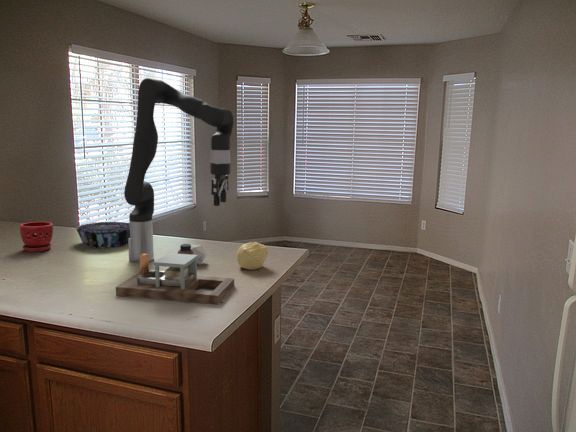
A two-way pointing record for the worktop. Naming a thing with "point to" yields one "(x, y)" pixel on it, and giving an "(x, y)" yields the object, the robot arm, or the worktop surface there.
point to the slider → (147, 273)
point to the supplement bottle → (185, 249)
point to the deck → (180, 290)
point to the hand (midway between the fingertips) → (220, 203)
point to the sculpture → (251, 255)
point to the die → (199, 253)
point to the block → (175, 273)
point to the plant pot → (36, 236)
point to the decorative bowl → (104, 234)
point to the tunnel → (177, 265)
